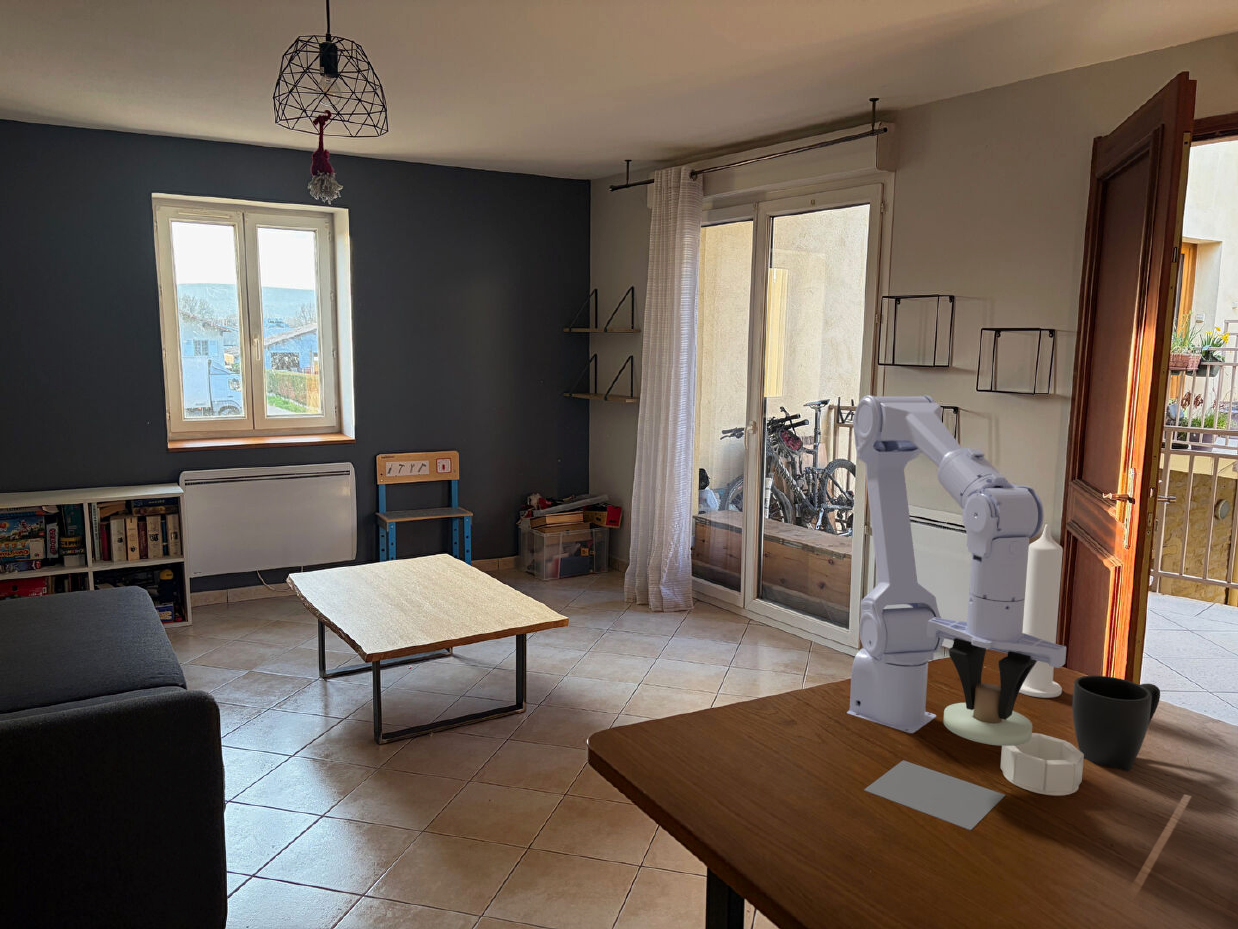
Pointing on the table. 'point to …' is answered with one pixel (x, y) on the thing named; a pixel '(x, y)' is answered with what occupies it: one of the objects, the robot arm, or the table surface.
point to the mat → (936, 794)
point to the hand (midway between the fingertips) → (988, 711)
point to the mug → (1112, 718)
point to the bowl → (1043, 765)
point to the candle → (1042, 609)
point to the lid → (987, 720)
